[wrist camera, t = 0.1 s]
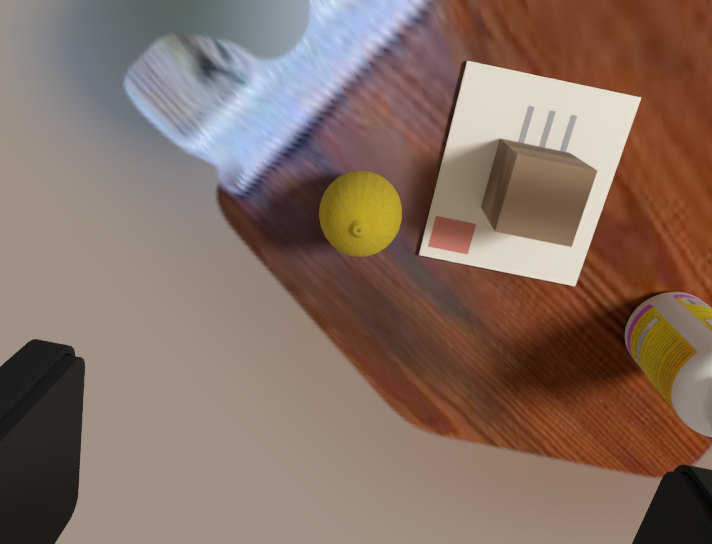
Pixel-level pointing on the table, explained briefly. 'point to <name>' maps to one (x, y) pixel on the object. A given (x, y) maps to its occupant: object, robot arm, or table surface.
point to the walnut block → (537, 192)
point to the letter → (530, 126)
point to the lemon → (360, 213)
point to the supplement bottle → (676, 353)
